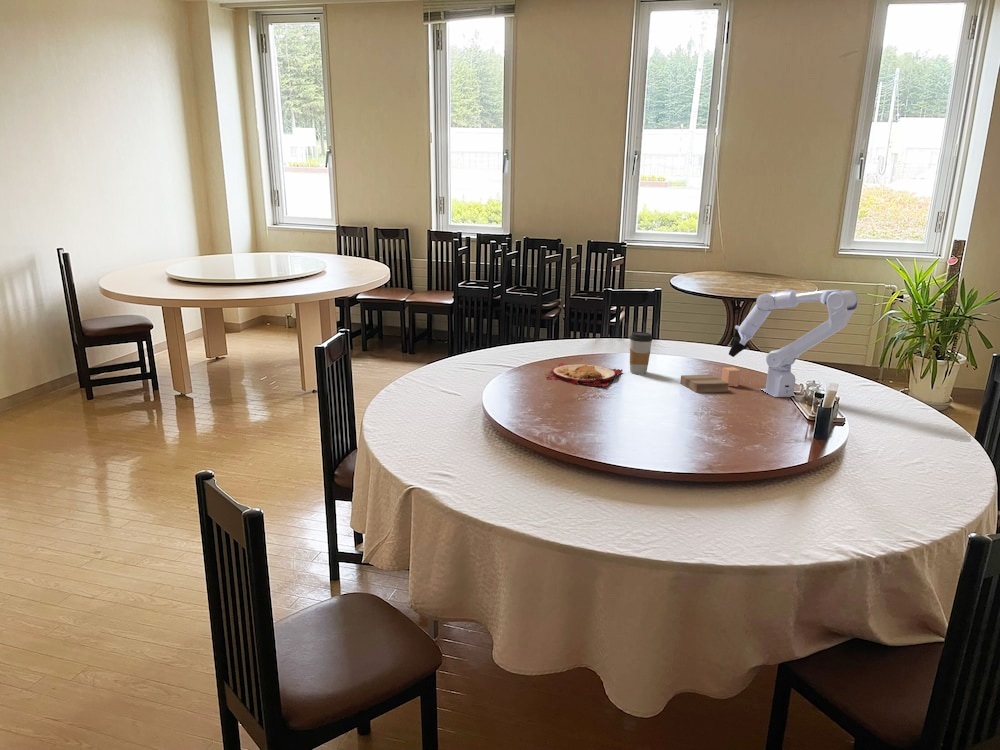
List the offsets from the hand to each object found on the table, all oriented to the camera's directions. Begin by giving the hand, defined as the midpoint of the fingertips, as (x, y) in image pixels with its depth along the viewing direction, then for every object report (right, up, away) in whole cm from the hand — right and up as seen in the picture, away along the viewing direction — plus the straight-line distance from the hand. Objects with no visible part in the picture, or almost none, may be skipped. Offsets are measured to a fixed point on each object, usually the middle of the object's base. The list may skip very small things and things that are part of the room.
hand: (731, 350), depth 258 cm
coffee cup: (-32, -8, +11) cm, 35 cm away
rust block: (-1, -13, -2) cm, 13 cm away
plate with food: (-55, -10, +2) cm, 56 cm away
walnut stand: (-12, -13, -7) cm, 20 cm away
